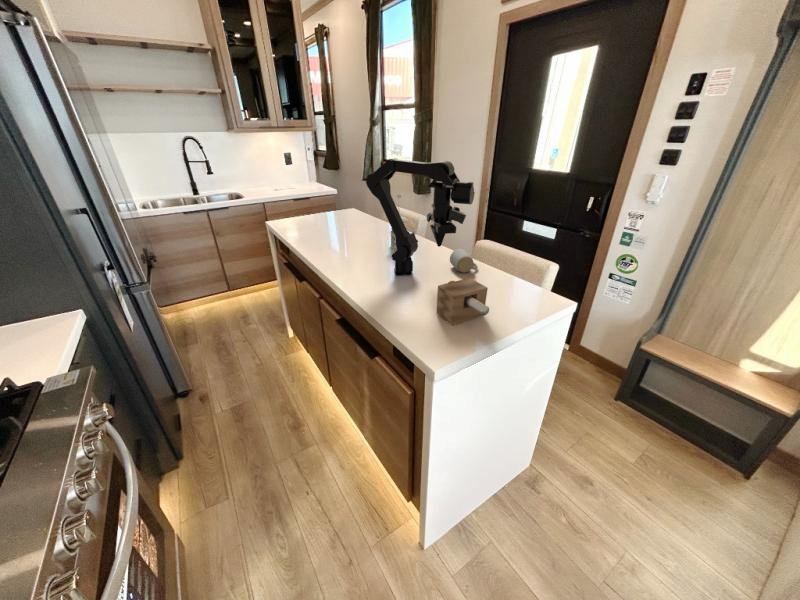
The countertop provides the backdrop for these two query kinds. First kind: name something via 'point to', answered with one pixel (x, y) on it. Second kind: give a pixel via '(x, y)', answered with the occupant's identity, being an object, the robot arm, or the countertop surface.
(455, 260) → the ceramic mug
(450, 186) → the robot arm
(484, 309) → the steel pin
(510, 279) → the countertop surface
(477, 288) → the hitch block
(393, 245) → the french press
